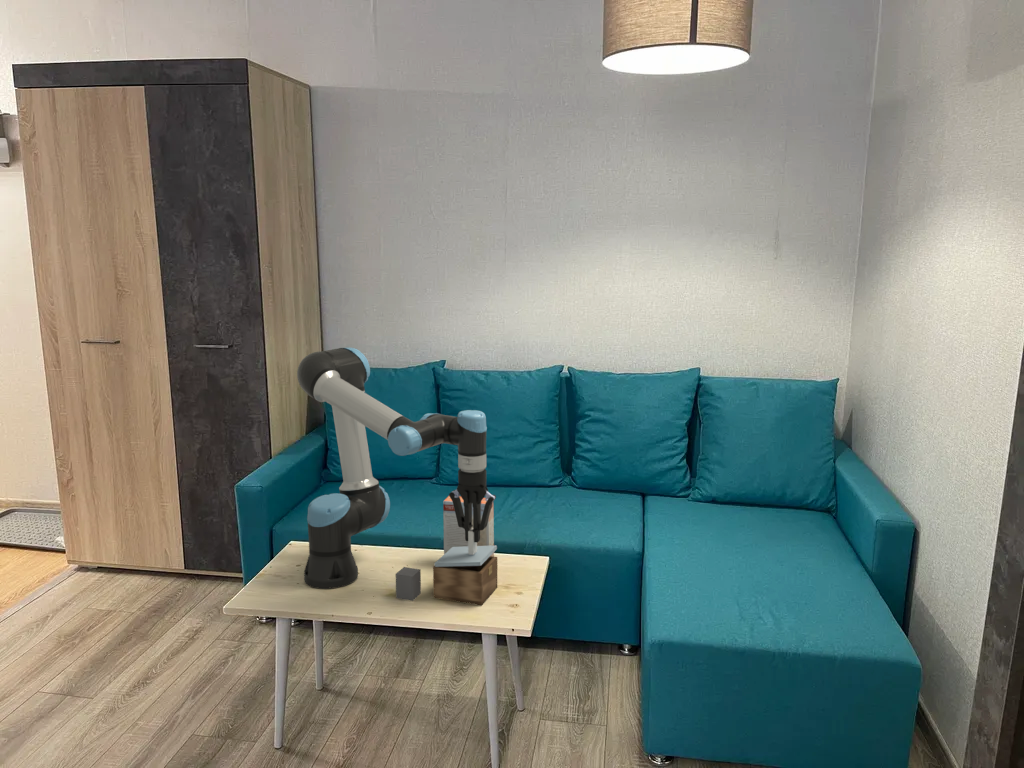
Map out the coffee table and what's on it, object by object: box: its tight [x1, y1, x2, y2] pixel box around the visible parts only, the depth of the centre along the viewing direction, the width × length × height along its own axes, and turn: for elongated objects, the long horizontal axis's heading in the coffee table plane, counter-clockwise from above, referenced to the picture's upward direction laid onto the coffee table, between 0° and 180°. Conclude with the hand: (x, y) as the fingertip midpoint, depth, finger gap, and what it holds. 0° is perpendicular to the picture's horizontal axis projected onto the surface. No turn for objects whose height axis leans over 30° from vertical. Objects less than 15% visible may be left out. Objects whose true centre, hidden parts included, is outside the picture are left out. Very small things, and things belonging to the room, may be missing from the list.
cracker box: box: [442, 495, 495, 557], centre depth 235 cm, size 14×6×21 cm, turn 77°
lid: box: [433, 544, 498, 567], centre depth 218 cm, size 13×12×1 cm
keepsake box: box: [432, 555, 498, 607], centre depth 219 cm, size 14×12×9 cm
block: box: [395, 566, 422, 602], centre depth 217 cm, size 5×5×7 cm
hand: (472, 552), depth 217 cm, fingers closed
